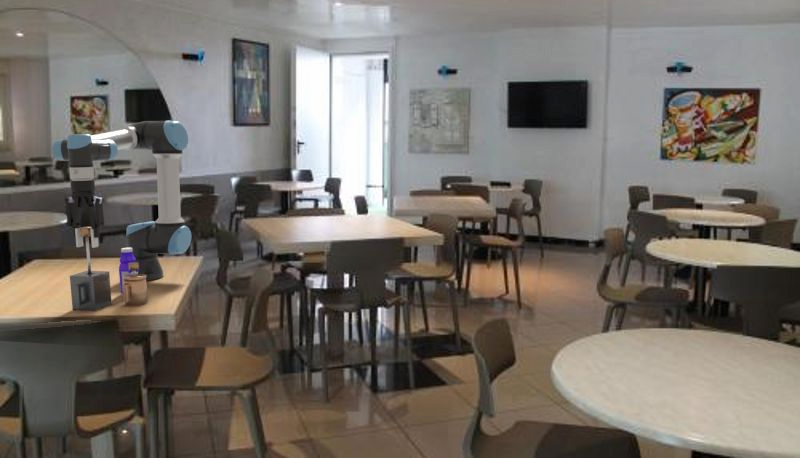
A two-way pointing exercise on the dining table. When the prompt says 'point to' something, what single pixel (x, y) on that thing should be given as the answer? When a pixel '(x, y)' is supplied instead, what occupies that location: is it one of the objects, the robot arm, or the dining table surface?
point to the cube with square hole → (90, 290)
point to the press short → (134, 287)
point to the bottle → (125, 264)
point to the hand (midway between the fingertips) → (87, 246)
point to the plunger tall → (87, 244)
